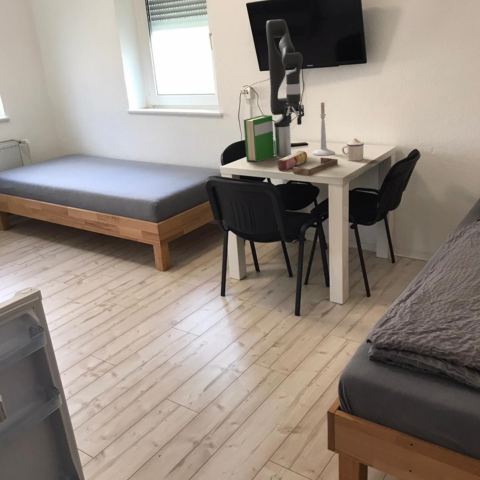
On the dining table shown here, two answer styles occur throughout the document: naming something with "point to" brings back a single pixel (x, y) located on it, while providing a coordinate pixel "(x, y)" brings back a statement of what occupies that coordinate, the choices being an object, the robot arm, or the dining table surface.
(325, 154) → the candlestick
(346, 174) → the dining table surface
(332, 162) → the walnut pocket
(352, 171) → the dining table surface
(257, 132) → the hardback book
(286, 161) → the snack package
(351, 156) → the teacup with lid
